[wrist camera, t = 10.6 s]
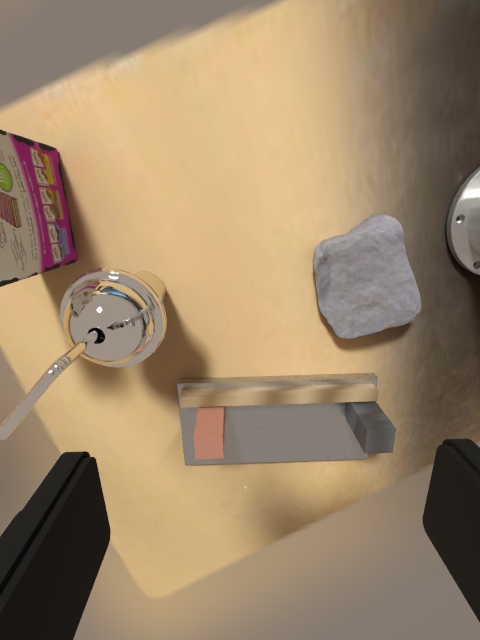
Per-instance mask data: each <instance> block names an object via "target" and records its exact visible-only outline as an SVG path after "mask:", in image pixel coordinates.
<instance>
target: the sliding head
mask: <svg viewBox="0 0 480 640" xmlns="http://www.w3.org/2000/svg"><path fill="white" fill-rule="evenodd" d="M224 441H225V408H224V406H215V407H199V408H198V413H197V419H196V425H195V430H194V447H195V459H220V458H224Z"/></svg>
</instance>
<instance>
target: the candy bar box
mask: <svg viewBox="0 0 480 640" xmlns="http://www.w3.org/2000/svg"><path fill="white" fill-rule="evenodd" d="M76 261H77V255H76V250H75V245H74V240H73V235H72V230H71V224H70V219H69V214H68V208H67V203H66V197H65V192H64V186H63V181H62V175H61V170H60V164H59V159H58V153H57V149H56V148H54V147H51V146H48V145H45V144H42V143H39V142H36V141H33V140H30V139H27V138H24V137H21V136H18V135H15V134H12V133H9V132H6V131H3V130H0V287H1V286H4V285H7V284H10V283H13V282H16V281H19V280H22V279H26V278H29V277H31V276H35V275H37V274H40V273H43V272H46V271H50V270H53V269H56V268H59V267H62V266H65V265H68V264H71V263H74V262H76Z"/></svg>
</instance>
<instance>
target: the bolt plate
mask: <svg viewBox="0 0 480 640" xmlns="http://www.w3.org/2000/svg"><path fill="white" fill-rule="evenodd" d="M377 380H378V377H377V376H376V375H375V374H374V373H357V374H326V375H294V376H263V377H231V378H199V379H179V380H178V383H177V388H178V398H179V408H180V418H181V428H182V439H183V449H184V459H185V465H206V464H235V463H264V462H293V461H322V460H351V459H368V453H366V454H364V452H363V450H362V448H361V446H360V444H359V443H358V441H357V439H356V437H355V435H354V433H353V431H352V430H351V428H350V426H349V424H348V422H347V420H346V412H347V402H338V403H307V404H277V405H246V406H224V408H225V441H224V458H220V459H195V447H194V430H195V425H196V419H197V413H198V408H199V407H185V408H181V404H180V395H181V391H182V390H194V389H225V388H256V387H287V386H319V385H350V384H373V385H374V386H375V387H376V388H377Z"/></svg>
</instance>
